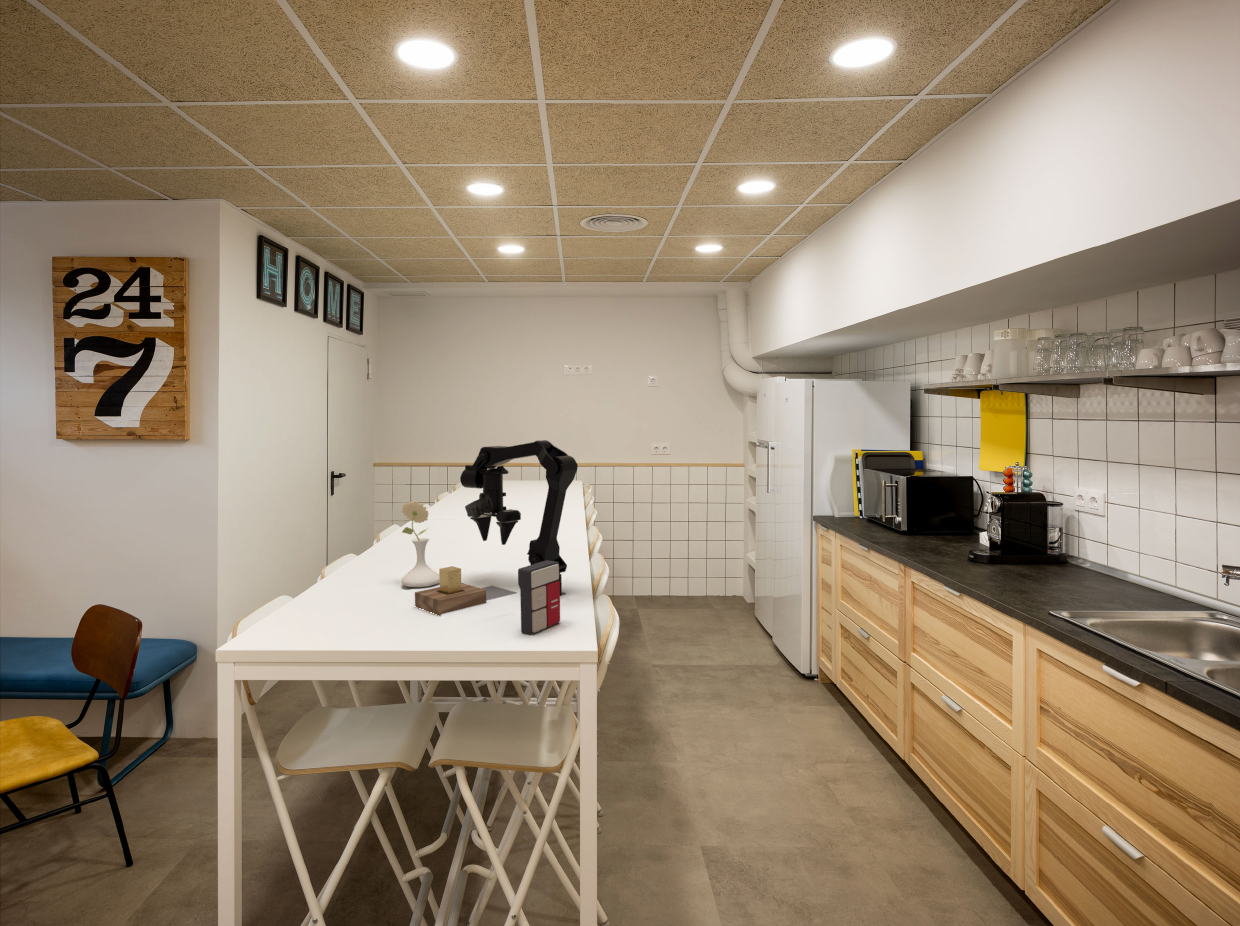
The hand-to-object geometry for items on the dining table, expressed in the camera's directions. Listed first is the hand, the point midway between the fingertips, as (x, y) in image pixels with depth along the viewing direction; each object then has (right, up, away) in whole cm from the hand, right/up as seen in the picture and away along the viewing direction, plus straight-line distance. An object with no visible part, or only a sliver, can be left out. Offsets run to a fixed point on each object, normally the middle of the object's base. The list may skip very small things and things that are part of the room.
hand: (494, 542), depth 200 cm
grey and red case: (+18, -16, -38) cm, 45 cm away
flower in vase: (-23, -13, +3) cm, 26 cm away
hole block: (-8, -15, -19) cm, 25 cm away
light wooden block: (-8, -15, -19) cm, 25 cm away
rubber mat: (0, -14, -8) cm, 16 cm away
